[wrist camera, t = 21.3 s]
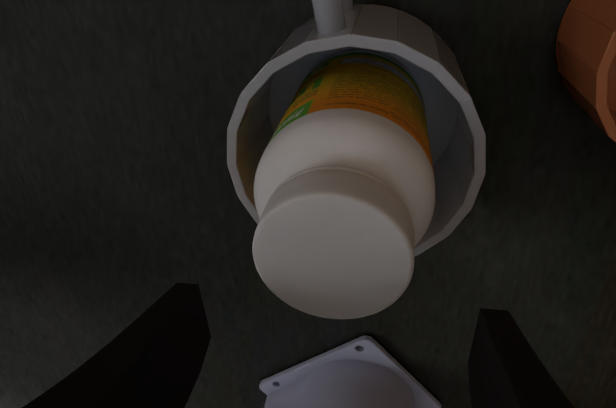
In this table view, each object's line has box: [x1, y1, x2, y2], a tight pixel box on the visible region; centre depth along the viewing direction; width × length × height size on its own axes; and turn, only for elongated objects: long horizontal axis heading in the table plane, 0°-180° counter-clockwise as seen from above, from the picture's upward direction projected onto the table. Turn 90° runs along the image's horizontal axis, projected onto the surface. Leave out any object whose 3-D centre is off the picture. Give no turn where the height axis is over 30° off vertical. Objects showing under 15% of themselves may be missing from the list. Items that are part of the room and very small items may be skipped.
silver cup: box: [227, 0, 486, 256], centre depth 16 cm, size 12×8×5 cm
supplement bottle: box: [252, 50, 435, 319], centre depth 15 cm, size 5×5×10 cm
